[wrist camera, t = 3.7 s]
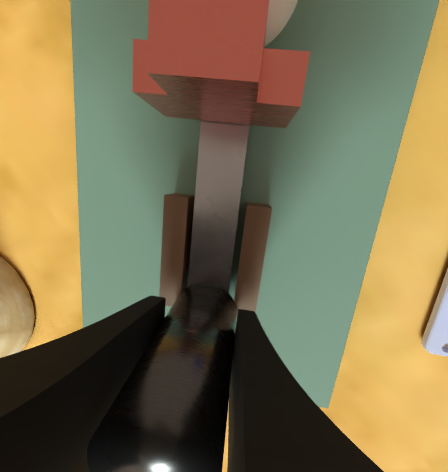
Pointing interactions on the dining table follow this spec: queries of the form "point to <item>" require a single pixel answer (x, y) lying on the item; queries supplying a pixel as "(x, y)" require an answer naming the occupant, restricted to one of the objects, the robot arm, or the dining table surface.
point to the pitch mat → (252, 168)
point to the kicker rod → (199, 227)
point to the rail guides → (179, 247)
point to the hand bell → (14, 311)
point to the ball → (278, 17)
